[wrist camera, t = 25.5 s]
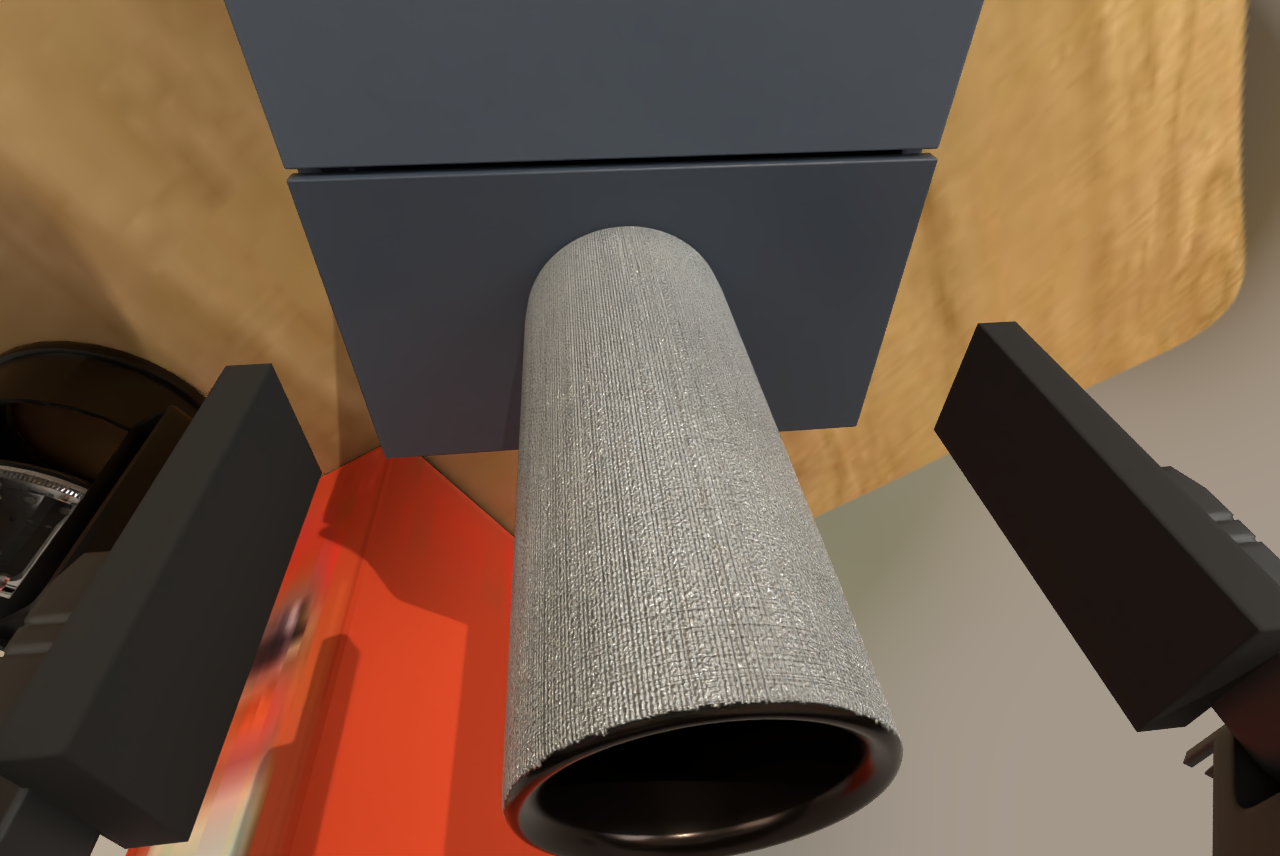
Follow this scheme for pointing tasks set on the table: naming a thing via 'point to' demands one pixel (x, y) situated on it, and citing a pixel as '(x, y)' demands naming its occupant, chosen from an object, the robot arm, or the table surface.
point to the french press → (60, 502)
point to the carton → (581, 204)
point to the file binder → (374, 683)
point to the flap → (599, 77)
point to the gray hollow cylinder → (670, 582)
